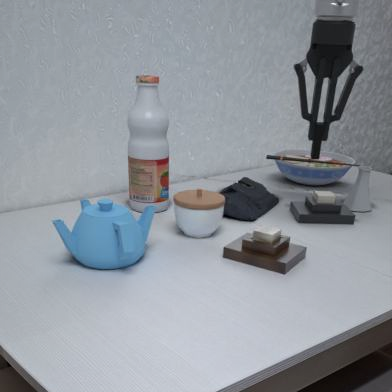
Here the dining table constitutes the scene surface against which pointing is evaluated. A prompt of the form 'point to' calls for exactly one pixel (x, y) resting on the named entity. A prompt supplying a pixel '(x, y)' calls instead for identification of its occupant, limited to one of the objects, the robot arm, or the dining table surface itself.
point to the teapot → (106, 234)
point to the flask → (360, 192)
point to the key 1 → (267, 234)
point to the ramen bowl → (312, 166)
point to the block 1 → (265, 253)
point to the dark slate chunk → (247, 200)
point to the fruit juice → (148, 148)
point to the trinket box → (198, 211)
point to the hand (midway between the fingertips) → (314, 157)
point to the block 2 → (321, 212)
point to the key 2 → (324, 197)
